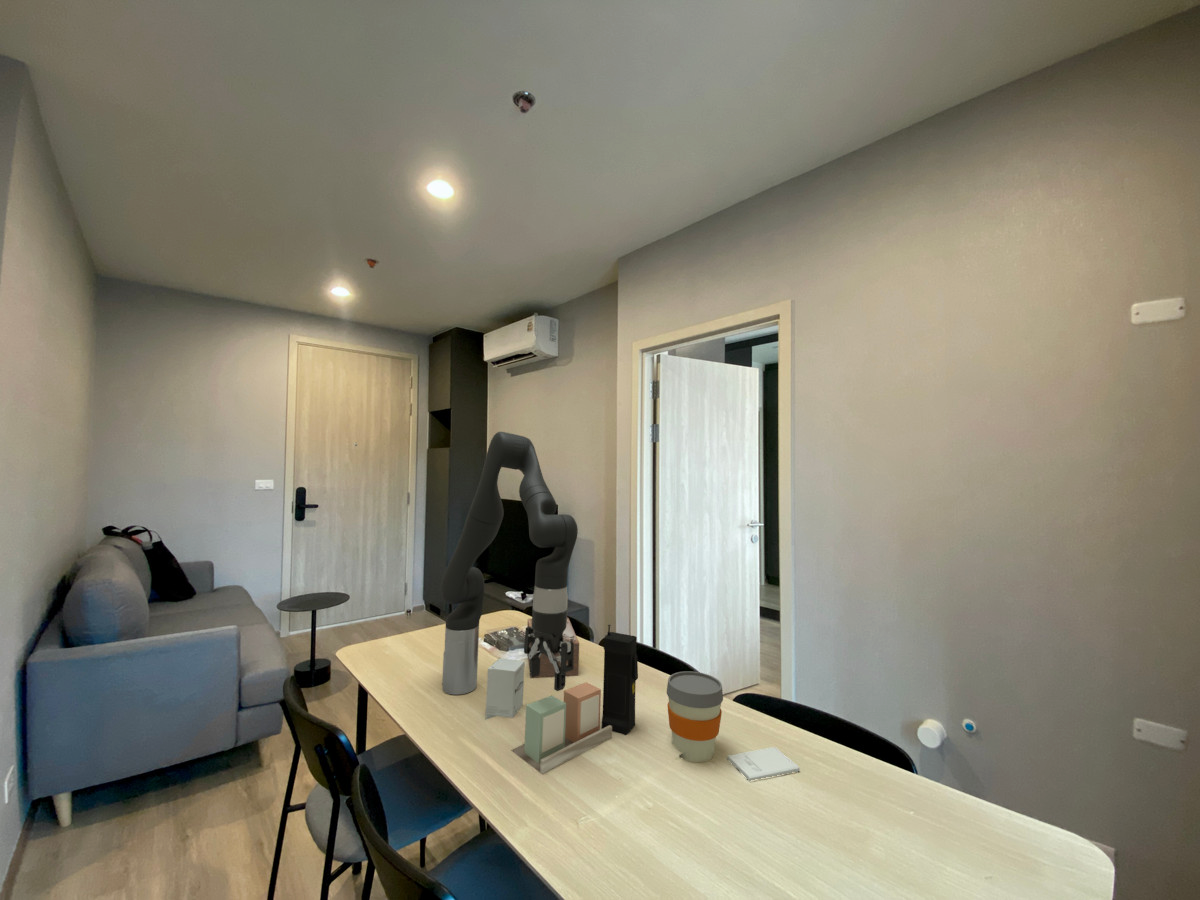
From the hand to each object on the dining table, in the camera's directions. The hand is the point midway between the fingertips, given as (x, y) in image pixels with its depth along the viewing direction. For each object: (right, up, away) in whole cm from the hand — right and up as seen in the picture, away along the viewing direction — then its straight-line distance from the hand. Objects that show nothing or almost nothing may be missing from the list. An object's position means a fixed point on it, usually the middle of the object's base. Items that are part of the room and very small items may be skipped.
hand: (546, 682), depth 103 cm
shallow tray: (+3, -16, +3) cm, 17 cm away
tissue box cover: (-5, -19, +53) cm, 57 cm away
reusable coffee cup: (+33, -18, +4) cm, 37 cm away
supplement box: (-13, -17, +17) cm, 27 cm away
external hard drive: (+46, -18, -1) cm, 50 cm away
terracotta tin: (+7, -15, +7) cm, 18 cm away
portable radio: (+16, -17, +11) cm, 26 cm away
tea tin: (0, -15, -1) cm, 15 cm away
